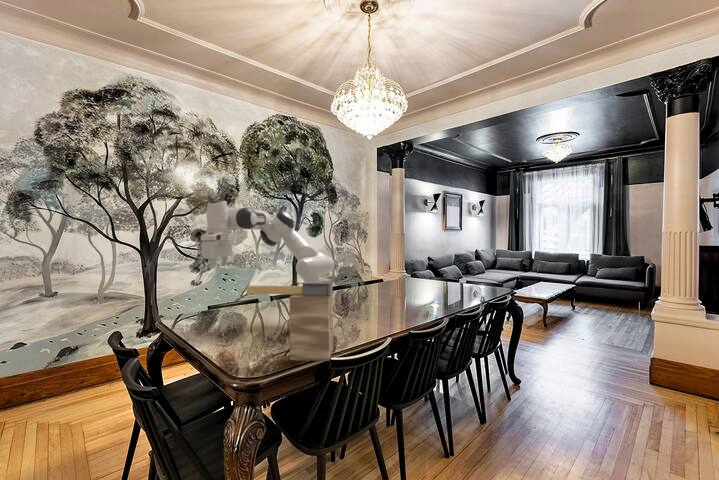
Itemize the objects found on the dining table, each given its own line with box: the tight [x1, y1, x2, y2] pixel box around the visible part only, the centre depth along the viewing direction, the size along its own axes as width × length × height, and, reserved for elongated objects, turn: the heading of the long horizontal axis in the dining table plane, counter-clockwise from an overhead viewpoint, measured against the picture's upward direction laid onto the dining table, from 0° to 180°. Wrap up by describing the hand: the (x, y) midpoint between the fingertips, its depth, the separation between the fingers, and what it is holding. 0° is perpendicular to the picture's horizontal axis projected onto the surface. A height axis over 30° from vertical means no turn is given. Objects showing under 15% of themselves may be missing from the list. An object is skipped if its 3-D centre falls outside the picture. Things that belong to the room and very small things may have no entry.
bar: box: [245, 285, 303, 295], centre depth 137 cm, size 3×24×3 cm, turn 86°
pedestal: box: [289, 293, 334, 362], centre depth 136 cm, size 12×16×26 cm
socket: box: [302, 280, 334, 296], centre depth 136 cm, size 8×11×5 cm
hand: (218, 267), depth 142 cm, fingers open, 8 cm apart
